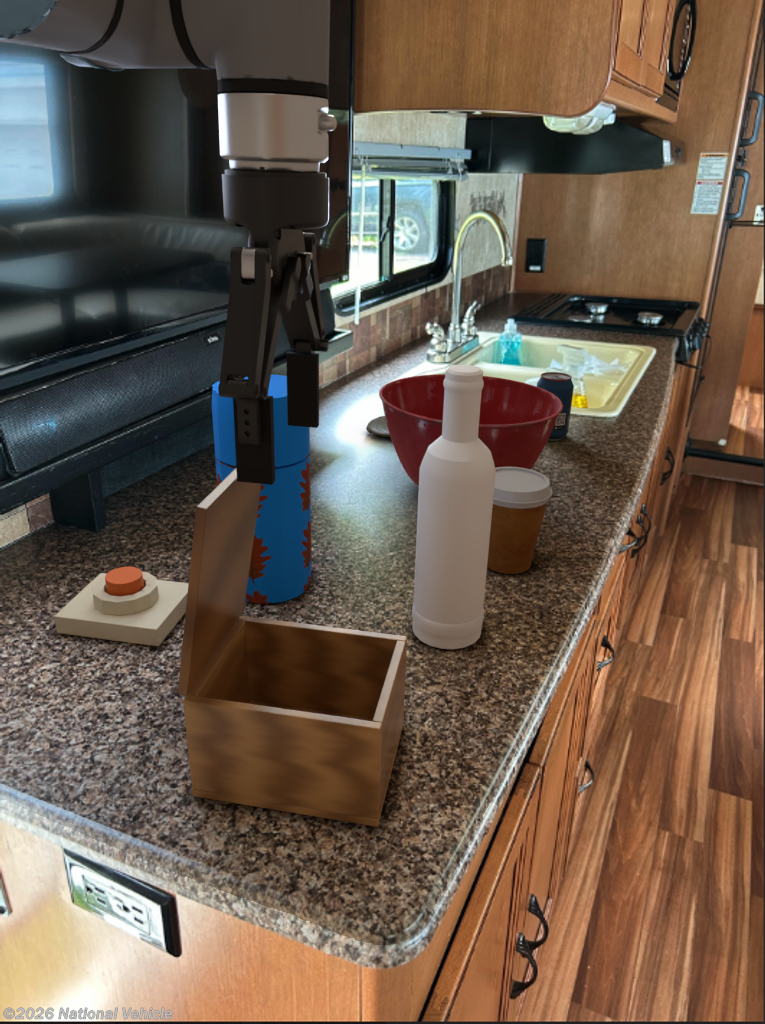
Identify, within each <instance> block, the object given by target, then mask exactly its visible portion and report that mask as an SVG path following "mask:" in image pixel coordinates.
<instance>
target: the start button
mask: <svg viewBox="0 0 765 1024" xmlns="http://www.w3.org/2000/svg"><path fill="white" fill-rule="evenodd" d="M142 572H143V571H142V570H141V569H140V568H138V567H135V566H121V567H116V568H114V569H111V570H109V571H108V572H107V573H106V576H105V582H106V589H107V593H108V594H109V595H113V596H126V595H133V594H135V593H137V592H140V591H142V590H143V588H144V582H143V574H142Z"/></svg>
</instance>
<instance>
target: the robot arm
mask: <svg viewBox="0 0 765 1024" xmlns="http://www.w3.org/2000/svg"><path fill="white" fill-rule="evenodd" d="M330 21H331V0H0V43H10V44H18V45H23V46H28V47H29V46H30V47H35V48H40V49H48V50H51V51H54V52H58V53H59V56H60V57H61V58H63V59H64V61H66V62H68V63H69V64H72V65H74V66H77V67H83V68H94V69H100V70H109V71H111V72H122V71H125V70H127V69H131V70H133V69H135V70H137V69H151V70H152V69H199V70H216V78H217V110H218V112H217V113H218V131H219V132H218V137H219V139H218V140H219V156H220V157H221V158H222V159H223V160H228V162H229V168H226V169H224V173H221V181H222V182H221V185H222V204H223V218H224V220H225V222H226V223H227V224H229V225H230V226H233V227H238V228H245V229H246V230H247V231H248V235H249V236H248V238H247V239H248V240H247V246H238V245H237V246H236V245H235V246H232V247H231V248H230V253H229V259H230V260H229V262H230V266H229V267H230V275H229V277H230V285H229V293H228V300H227V301H228V302H227V310H226V311H227V312H226V320H225V329H224V338H223V348H222V356H221V357H222V358H221V366H220V374H219V381H220V383H219V386H218V392H219V395H220V396H221V397H230V398H233V409H234V430H235V450H236V470H237V481H238V482H248V483H258V484H268V485H273V483H274V482H275V450H274V412H273V396H267V395H268V389H269V384H270V378H271V375H272V373H273V367H274V362H275V356H276V351H277V347H278V340H279V335H280V329H281V324H283V327H284V331H285V335H286V338H287V340H288V344H289V347H290V350H295V351H287V352H286V354H285V355H286V357H285V358H286V360H285V361H286V376H287V414H288V425H289V426H301V427H309V428H312V429H313V428H315V429H317V428H318V427H319V426H320V353H316V352H323V353H328V351H329V347H330V346H329V345H330V342H329V341H330V340H329V339H327V338H325V337H326V333H327V331H326V328H325V327H326V326H325V319H324V311H323V303H322V295H321V287H320V279H319V269H318V263H317V237H316V234H315V232H304V230H315V229H322V228H324V227H325V226H327V225H328V223H329V221H330V177H327V173H326V172H324V171H323V172H321V171H320V164H325V163H326V162H327V161H328V160H329V134H328V132H332V131H335V130H336V128H337V125H338V122H337V119H336V117H335V115H332V114H328V113H329V99H330V88H329V86H330V85H329V82H330V81H329V79H330V77H329V76H330V31H331V30H330V28H331V27H330V26H331V22H330ZM245 377H248V379H244V378H245Z"/></svg>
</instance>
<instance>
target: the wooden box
mask: <svg viewBox="0 0 765 1024" xmlns="http://www.w3.org/2000/svg"><path fill="white" fill-rule="evenodd" d="M407 649H408V636H406V635H398V634H390V633H383V632H374V631H367V630H358V629H349V628H341V627H335V626H327V625H318V624H311V623H303V622H294V621H286V620H278V619H271V618H262V617H253V616H248V615H247V616H246V615H241V616H240V618H239V619H238V621H237V622H236V624H235V625H234V627H233V628H232V630H231V631H230V633H229V634H228V636H227V637H226V639H225V640H224V642H223V643H222V645H221V646H220V648H219V649H218V651H217V652H216V654H215V655H214V656H213V658H212V659H211V661H210V662H209V664H208V665H207V667H206V668H205V670H204V671H203V673H202V674H201V676H200V677H199V679H198V680H197V682H196V683H195V685H194V686H193V688H192V689H191V691H190V692H189V694H188V695H187V696H184V698H183V700H182V705H183V715H184V724H185V734H186V745H187V753H188V761H189V762H188V763H189V773H190V780H191V793H192V797H195V798H203V799H206V800H213V801H218V802H224V803H225V802H226V803H231V804H237V805H242V806H249V807H256V808H260V809H267V810H273V811H280V812H285V813H291V814H297V815H304V816H309V817H317V818H321V819H328V820H332V821H333V820H334V821H339V822H345V823H352V824H358V825H364V826H368V827H370V826H371V827H375V828H378V827H379V824H380V820H381V816H382V811H383V808H384V804H385V799H386V796H387V792H388V788H389V785H390V781H391V776H392V772H393V768H394V763H395V760H396V756H397V751H398V748H399V744H400V740H401V735H402V732H403V727H404V721H405V718H404V717H405V698H406V697H405V695H406V672H407V671H406V670H407Z"/></svg>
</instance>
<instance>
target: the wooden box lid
mask: <svg viewBox="0 0 765 1024" xmlns="http://www.w3.org/2000/svg"><path fill="white" fill-rule="evenodd" d="M260 490H261V484H258V483H248V482H238V481H237V470H236V468H235V469H234V470H233V471H232V472H231V473H230V474H229V475H228V476H227V477H226V478H225V479H224V480H223V481H222V482H221V483H220V484H219V485H218V486H217V485H216V487H215V488H214V489H213V490H212V491H211V492H210V493H209V494H208V495H206V497H205V498H204V499H203V500H202V501H200V503H199V504H198V505H196V506H195V513H194V515H195V516H194V524H193V535H192V545H191V554H190V555H191V557H190V566H189V575H188V583H189V584H188V594H187V604H186V613H185V614H184V626H183V635H182V643H181V645H182V646H181V654H180V665H179V675H178V685H177V695H179V696H184V697H186V696H187V695H188V694H189V692H190V691H191V689H192V688H193V686H194V685H195V683H196V682H197V680H198V679H199V677H200V676H201V674H202V673H203V671H204V670H205V668H206V667H207V665H208V664H209V662H210V661H211V659H212V658H213V656H214V655H215V654H216V652H217V651H218V649H219V648H220V646H221V645H222V643H223V642H224V640H225V639H226V637H227V636H228V634H229V633H230V631H231V630H232V628H233V627H234V625H235V624H236V622H237V621H238V619H239V618H240V616H243V613H244V610H245V602H246V601H245V597H246V590H247V583H248V576H249V569H250V561H251V554H252V547H253V540H254V533H255V526H256V519H257V511H258V504H259V497H260Z"/></svg>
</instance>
